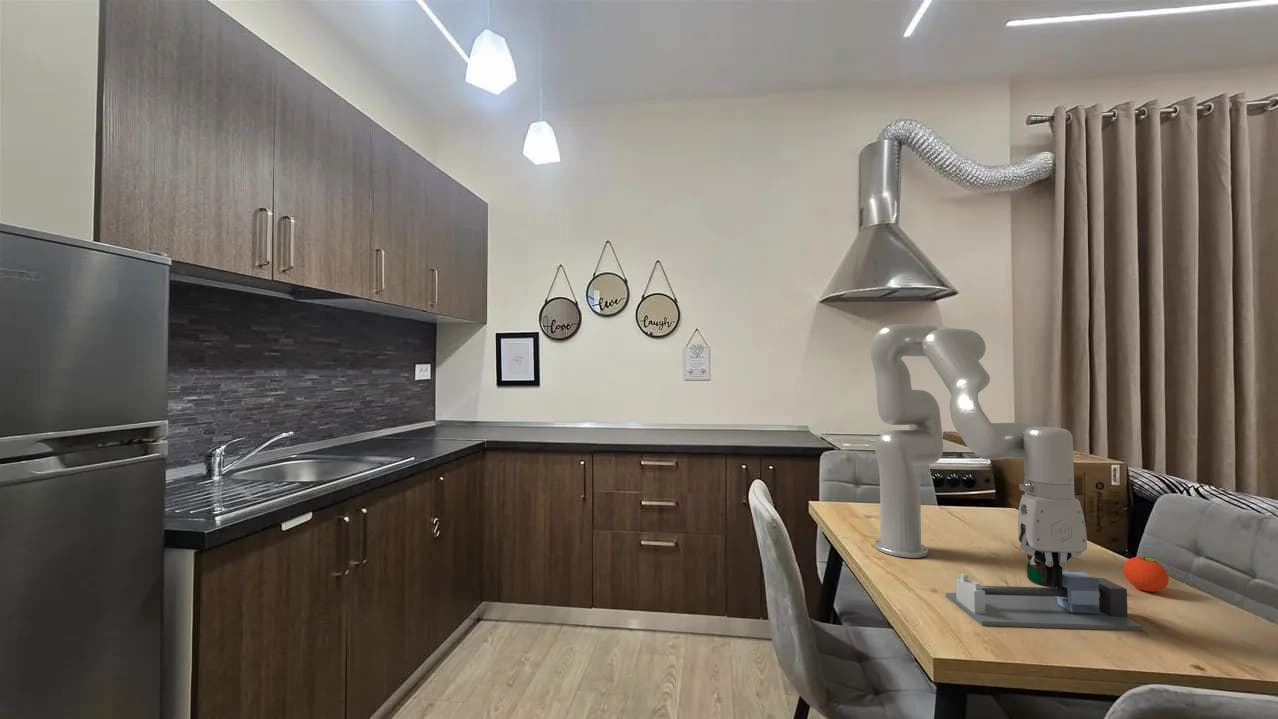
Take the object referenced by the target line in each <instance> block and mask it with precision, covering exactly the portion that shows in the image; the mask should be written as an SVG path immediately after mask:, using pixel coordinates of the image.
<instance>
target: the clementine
mask: <svg viewBox="0 0 1278 719" xmlns="http://www.w3.org/2000/svg"><path fill="white" fill-rule="evenodd" d="M1160 563H1161V564H1160ZM1162 564H1164V562H1162V561H1161V560H1158V559H1154V558H1148V557H1147V556H1146V557H1145V556H1135V557H1132V558H1129V559H1127V560H1126V561H1125V563H1124V564H1123V568H1122V570H1123V571H1122V572H1123V576H1124V578H1125V579H1126V580H1127V582H1129V583H1130V584H1131V585H1132V586H1133V587H1134V588H1137V589H1138V590H1142V591H1143V592H1149V593H1150V592H1153V593H1154V592H1161V591H1162V590H1164V589H1165V588H1166V587H1167V586H1168V585H1169V580H1170V578H1169V573H1168V572H1167V570H1166V568H1164V566H1163V565H1162ZM1166 566H1167V567H1168V568H1169V569H1170V570H1171V571H1172V574H1174V571H1173V569H1172V568H1171V567H1170V566H1169V565H1168V564H1166Z"/></svg>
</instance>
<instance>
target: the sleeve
mask: <svg viewBox="0 0 1278 719" xmlns="http://www.w3.org/2000/svg"><path fill="white" fill-rule="evenodd" d="M1062 575H1063V581H1062V588H1067V595H1068V597H1054V602H1055V603H1057V604H1058V605H1060V606H1062V607H1063V608H1065V609H1067V610H1069V611H1070V612H1076V613H1099V581H1098V579H1096V578H1097V577H1094V576H1092V575H1090V574H1087V573H1085V572H1083V571H1081V570H1075V569H1074V570H1073V569H1072V570H1071V569H1070V570H1069V569H1068V570H1067V569H1062ZM1056 588H1058V587H1056Z"/></svg>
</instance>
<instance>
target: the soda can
mask: <svg viewBox="0 0 1278 719" xmlns="http://www.w3.org/2000/svg"><path fill="white" fill-rule="evenodd" d="M1032 549H1033V548H1032ZM1025 556H1026V578H1027V579H1028V580H1029V581H1030V582H1032V583H1034V584H1036V585H1040V586H1043V587H1044V586H1045V587H1049V586H1048V585H1047V584H1045V583H1043V582H1042V581H1041V577H1040V562H1039V561H1037V559H1036V558H1035V557H1034V556H1031V555H1028V554H1025Z"/></svg>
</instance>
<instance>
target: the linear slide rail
mask: <svg viewBox="0 0 1278 719" xmlns="http://www.w3.org/2000/svg"><path fill="white" fill-rule="evenodd" d="M959 574H960V577H959V578H957V577H956V578H955V582H956V583H955V586H956V592H945V597H946V598H947V599H948V600H950V602H952V603H953V604H955V605H956V606H957V607H958V608H960V610H962V611H963V612H964V613H966V614H967V615H969V617H971V619H973V620H974V621H976V622H977V623H978V624H979V625H981V626H983V627H984V626H987V627H988V626H990V627H993V626H994V627H1013V628H1014V627H1016V628H1017V627H1021V628H1044V629H1045V628H1049V629H1050V628H1051V629H1052V628H1053V629H1076V630H1077V629H1080V630H1105V631H1106V630H1108V631H1109V630H1110V631H1111V630H1112V631H1135V632H1136V631H1137V632H1139V631H1142V632H1143V629H1144V628H1143V625H1141V624H1139V623H1137V622H1135V621H1134V620H1132V619H1130V618H1129V617H1128V616H1129V615H1128V613H1129V612H1128V589H1127V588H1125V587H1123V586H1121V585H1119V584H1117V583H1114V582H1113V581H1110V580H1108V579H1106V578H1104V577H1103V578H1102V577H1095V578H1096V579H1098V581H1099V613H1076V612H1070V611H1069V610H1067V609H1065V608H1063V607H1062V606H1060V605H1058V604H1057V603H1055V602H1054V597H1068V595H1067V588H1052V587H1048V586H1045V587H1044V586H1043V587H1041V586H1033V587H1032V586H1006V585H1004V586H1003V585H1001V586H1000V585H981V584H980V582H978V581H971V580H969V578H968V574H966V573H959Z"/></svg>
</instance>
